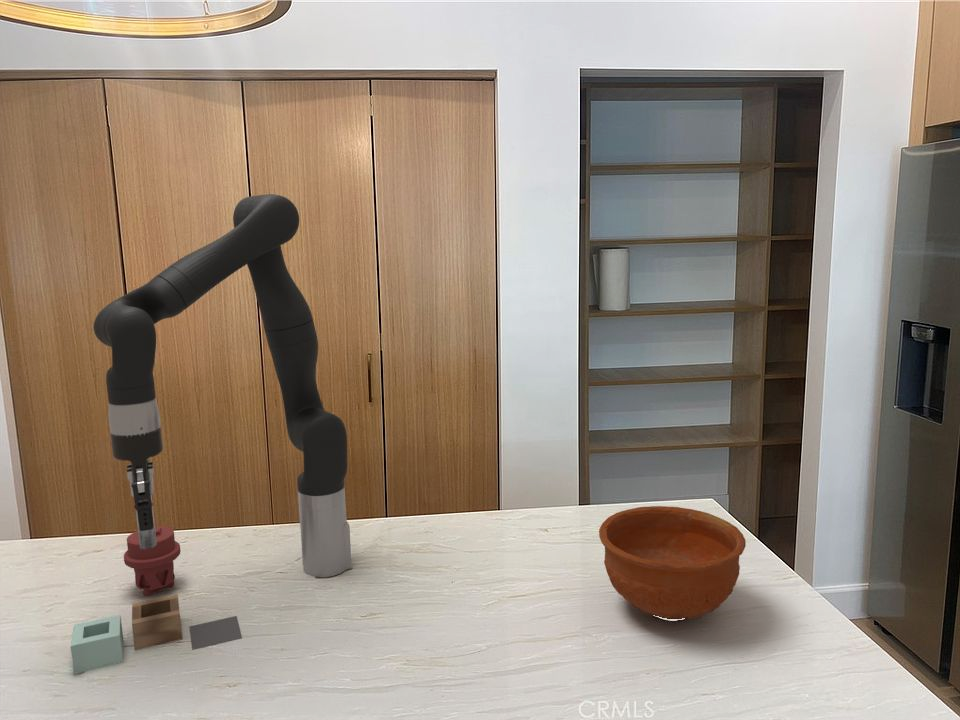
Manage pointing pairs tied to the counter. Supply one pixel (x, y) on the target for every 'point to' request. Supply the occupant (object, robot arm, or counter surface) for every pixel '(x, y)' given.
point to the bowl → (671, 559)
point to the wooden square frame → (156, 621)
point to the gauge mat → (215, 632)
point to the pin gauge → (147, 534)
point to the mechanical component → (153, 561)
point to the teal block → (97, 643)
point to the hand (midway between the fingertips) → (146, 525)
